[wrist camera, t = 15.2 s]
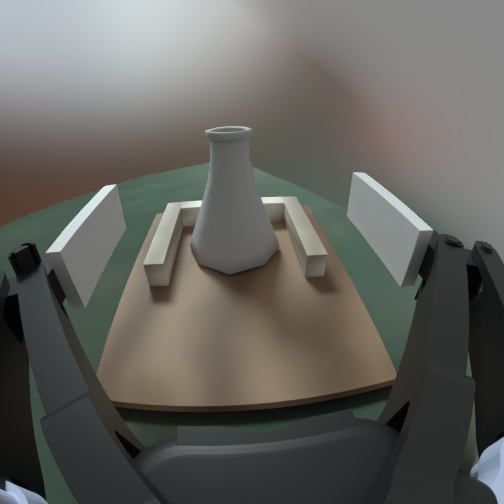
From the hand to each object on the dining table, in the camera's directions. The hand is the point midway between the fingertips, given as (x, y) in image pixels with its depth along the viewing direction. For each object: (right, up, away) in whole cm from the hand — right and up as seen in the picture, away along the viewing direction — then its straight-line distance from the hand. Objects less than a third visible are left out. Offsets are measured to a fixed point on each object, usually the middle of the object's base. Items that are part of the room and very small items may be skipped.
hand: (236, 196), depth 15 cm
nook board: (0, -5, +7) cm, 9 cm away
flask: (-1, -3, +9) cm, 10 cm away
